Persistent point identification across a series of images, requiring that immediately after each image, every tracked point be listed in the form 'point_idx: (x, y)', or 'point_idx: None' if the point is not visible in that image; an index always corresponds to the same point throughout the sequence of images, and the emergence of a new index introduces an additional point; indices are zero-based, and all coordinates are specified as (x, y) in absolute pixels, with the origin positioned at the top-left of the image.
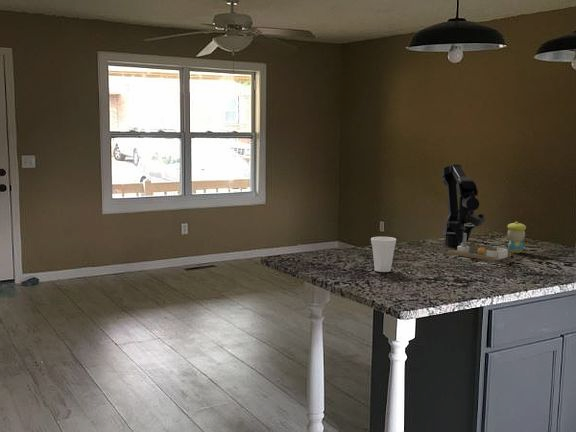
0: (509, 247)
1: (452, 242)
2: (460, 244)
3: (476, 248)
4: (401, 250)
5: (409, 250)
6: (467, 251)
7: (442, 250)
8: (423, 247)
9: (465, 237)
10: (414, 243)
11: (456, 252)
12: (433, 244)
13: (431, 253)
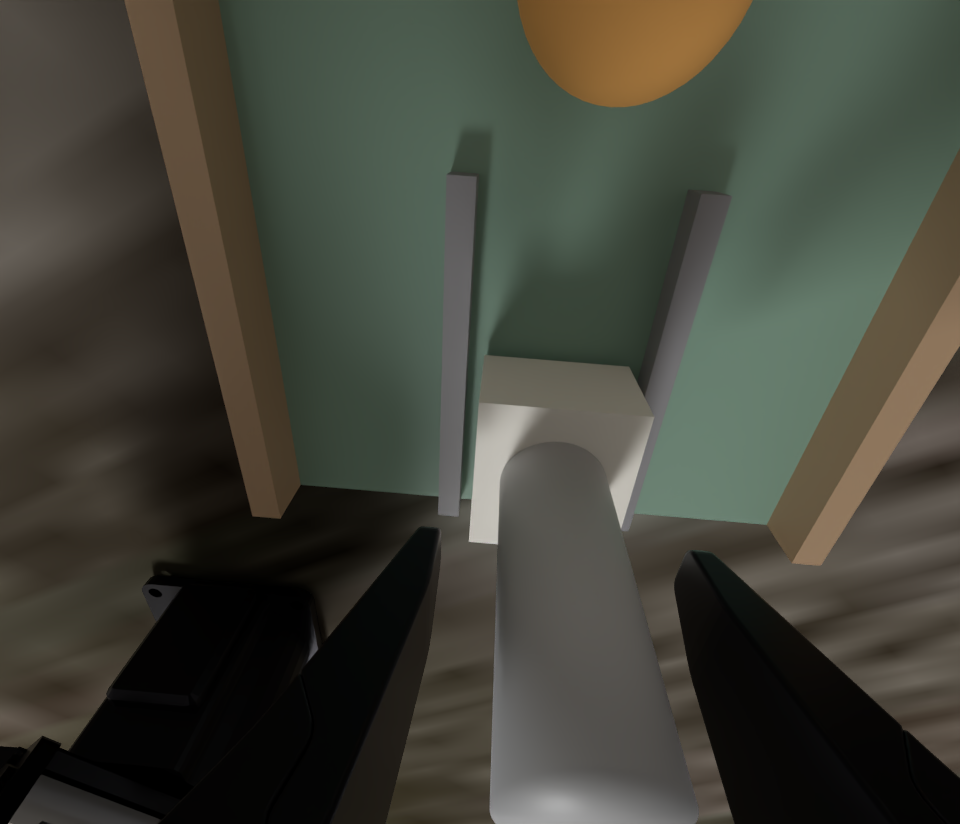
0: None
1: (269, 687)
2: (178, 610)
3: (247, 327)
4: None
5: (691, 779)
6: (547, 365)
7: (483, 639)
8: (471, 759)
9: (622, 631)
10: None
11: (890, 430)
12: None
13: None
